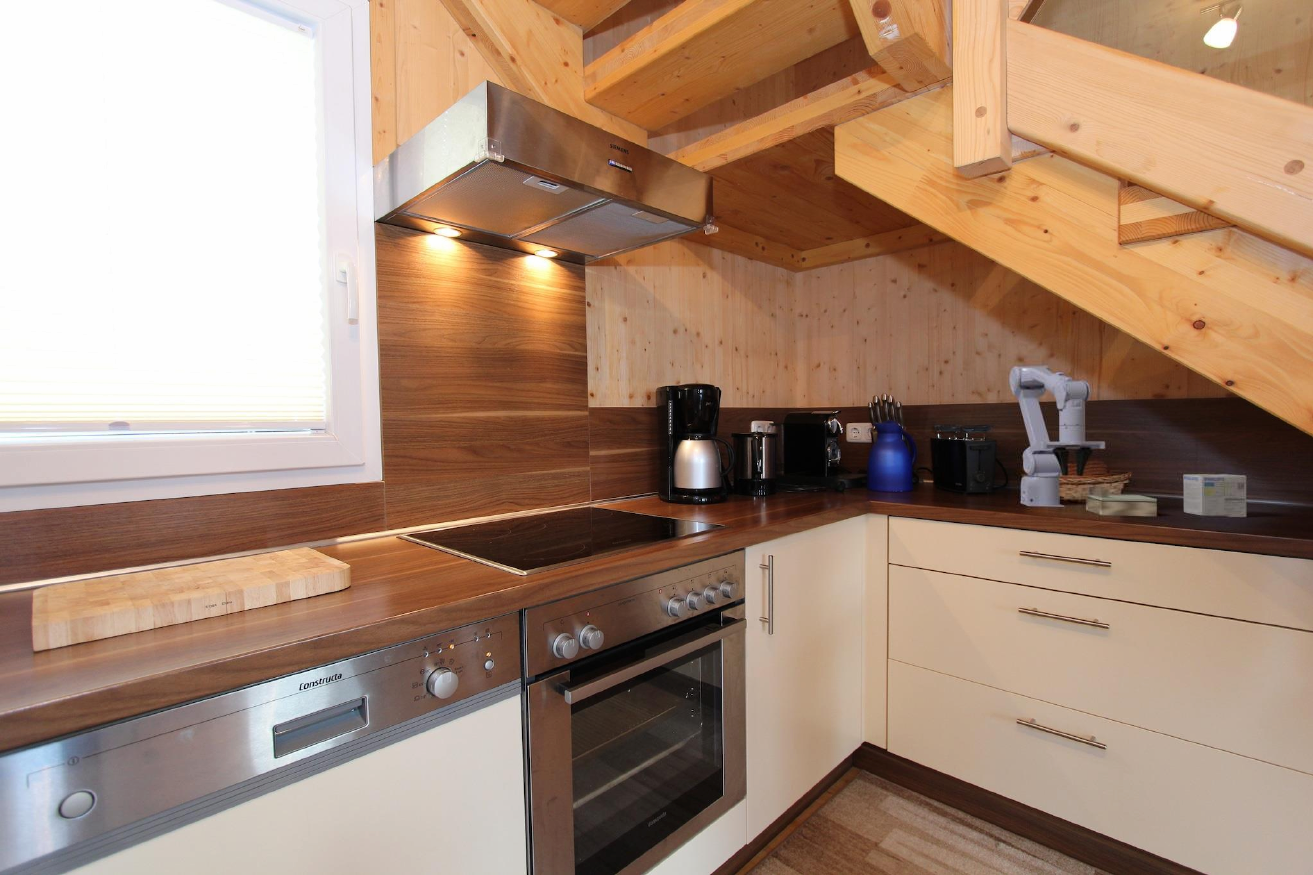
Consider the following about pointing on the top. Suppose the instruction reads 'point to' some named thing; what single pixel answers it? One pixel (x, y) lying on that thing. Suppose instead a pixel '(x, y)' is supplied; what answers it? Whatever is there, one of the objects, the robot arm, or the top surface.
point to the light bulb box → (1215, 494)
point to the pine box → (1121, 507)
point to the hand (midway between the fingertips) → (1072, 475)
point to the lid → (1115, 496)
